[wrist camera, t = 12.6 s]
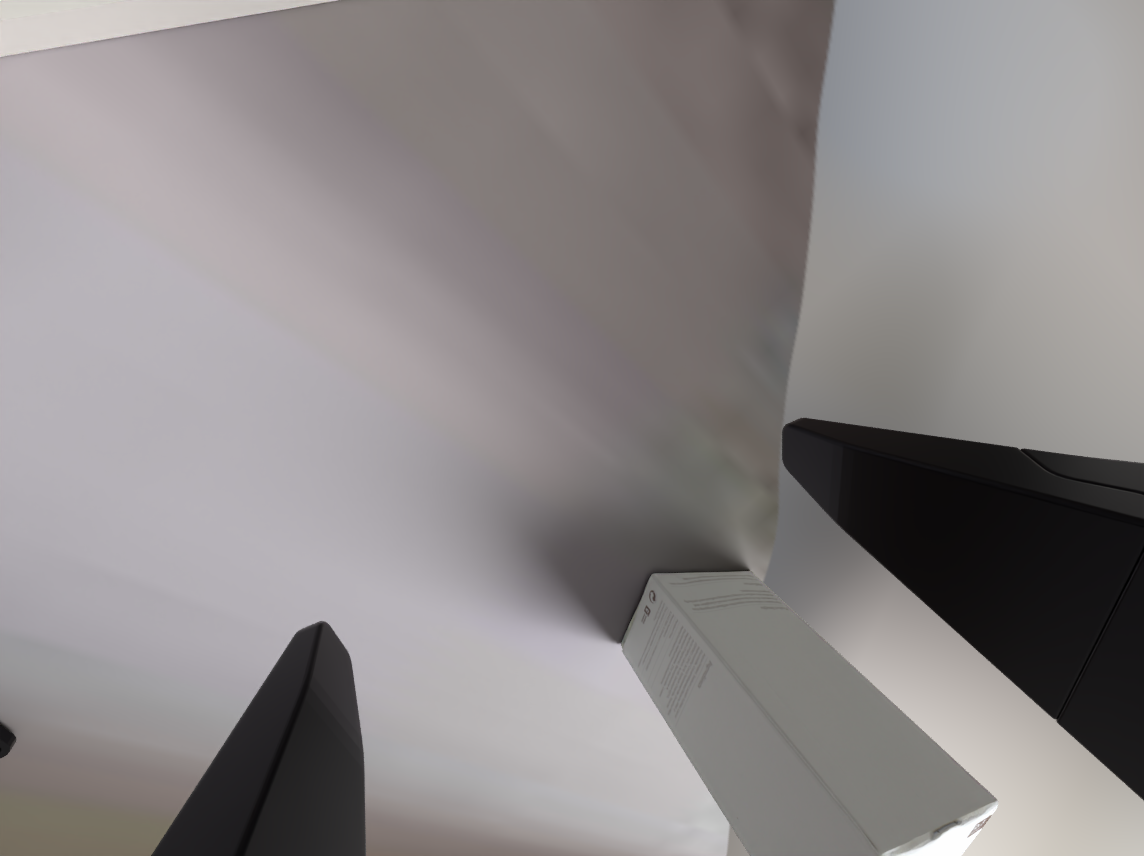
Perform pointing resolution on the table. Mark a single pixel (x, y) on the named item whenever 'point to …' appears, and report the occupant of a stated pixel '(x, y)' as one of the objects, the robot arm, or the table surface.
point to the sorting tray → (113, 19)
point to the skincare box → (793, 728)
